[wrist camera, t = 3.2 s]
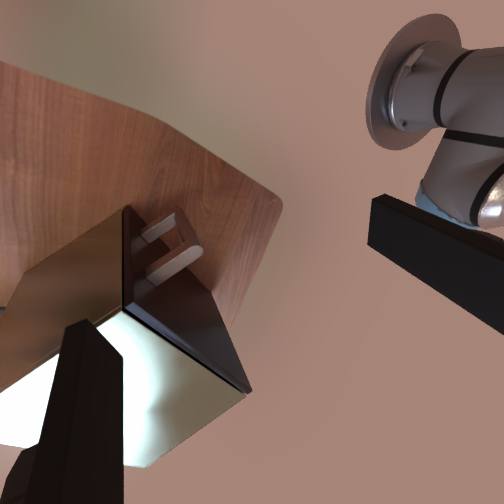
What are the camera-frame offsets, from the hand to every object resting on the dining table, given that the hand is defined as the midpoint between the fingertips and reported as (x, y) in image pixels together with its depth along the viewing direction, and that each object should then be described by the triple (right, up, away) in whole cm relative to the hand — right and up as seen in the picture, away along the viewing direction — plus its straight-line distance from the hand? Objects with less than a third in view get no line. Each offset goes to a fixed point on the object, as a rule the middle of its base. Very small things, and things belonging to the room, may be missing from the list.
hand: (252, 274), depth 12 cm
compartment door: (-12, +2, +37) cm, 39 cm away
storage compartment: (-23, -6, +37) cm, 44 cm away
